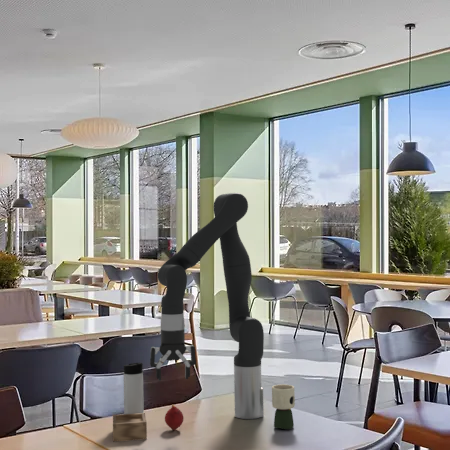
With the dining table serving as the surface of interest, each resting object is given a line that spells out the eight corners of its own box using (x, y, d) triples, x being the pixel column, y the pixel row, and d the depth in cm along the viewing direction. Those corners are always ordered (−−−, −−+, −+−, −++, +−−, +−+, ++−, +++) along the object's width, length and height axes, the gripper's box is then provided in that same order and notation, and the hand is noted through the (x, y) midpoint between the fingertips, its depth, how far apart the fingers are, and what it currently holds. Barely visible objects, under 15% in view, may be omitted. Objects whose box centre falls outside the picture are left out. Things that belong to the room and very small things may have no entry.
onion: (184, 427, 206) (184, 402, 206) (181, 433, 200) (181, 407, 201) (166, 427, 207) (166, 402, 207) (163, 432, 201) (163, 407, 201)
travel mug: (134, 427, 207) (133, 365, 207) (120, 424, 211) (119, 363, 211) (148, 423, 212) (147, 361, 212) (134, 419, 216) (133, 359, 216)
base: (145, 429, 205) (144, 412, 205) (146, 439, 195) (146, 421, 195) (113, 431, 203) (112, 415, 203) (113, 441, 193) (112, 424, 194)
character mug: (293, 434, 198) (292, 391, 198) (270, 433, 199) (269, 390, 199) (296, 423, 208) (295, 383, 208) (274, 422, 210) (273, 382, 210)
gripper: (193, 325, 209) (194, 375, 209) (149, 327, 207) (149, 377, 206) (196, 328, 202) (197, 380, 201) (150, 330, 199) (151, 383, 199)
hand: (173, 379), depth 204 cm, fingers open, 8 cm apart
